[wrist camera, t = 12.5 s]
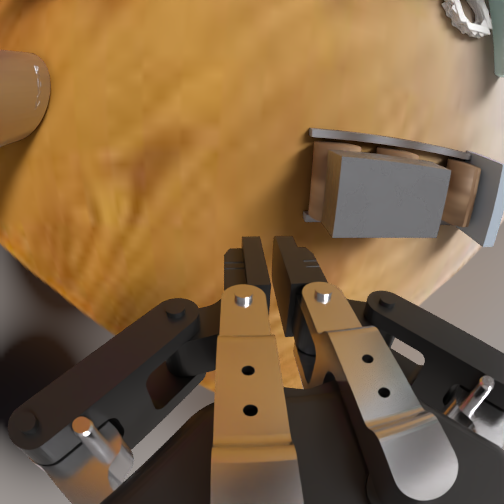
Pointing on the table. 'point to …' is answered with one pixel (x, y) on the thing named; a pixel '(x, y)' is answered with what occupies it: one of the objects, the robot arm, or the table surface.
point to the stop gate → (486, 201)
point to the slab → (382, 196)
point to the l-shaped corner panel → (481, 24)
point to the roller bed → (461, 176)
